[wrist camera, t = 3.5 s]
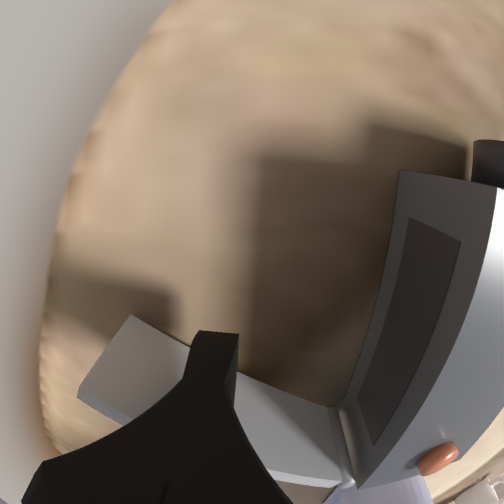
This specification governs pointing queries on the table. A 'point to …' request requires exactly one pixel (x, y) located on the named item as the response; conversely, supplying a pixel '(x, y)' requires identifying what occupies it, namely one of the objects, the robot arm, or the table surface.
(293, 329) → the table surface
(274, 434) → the side door
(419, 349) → the camera body
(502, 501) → the mug
